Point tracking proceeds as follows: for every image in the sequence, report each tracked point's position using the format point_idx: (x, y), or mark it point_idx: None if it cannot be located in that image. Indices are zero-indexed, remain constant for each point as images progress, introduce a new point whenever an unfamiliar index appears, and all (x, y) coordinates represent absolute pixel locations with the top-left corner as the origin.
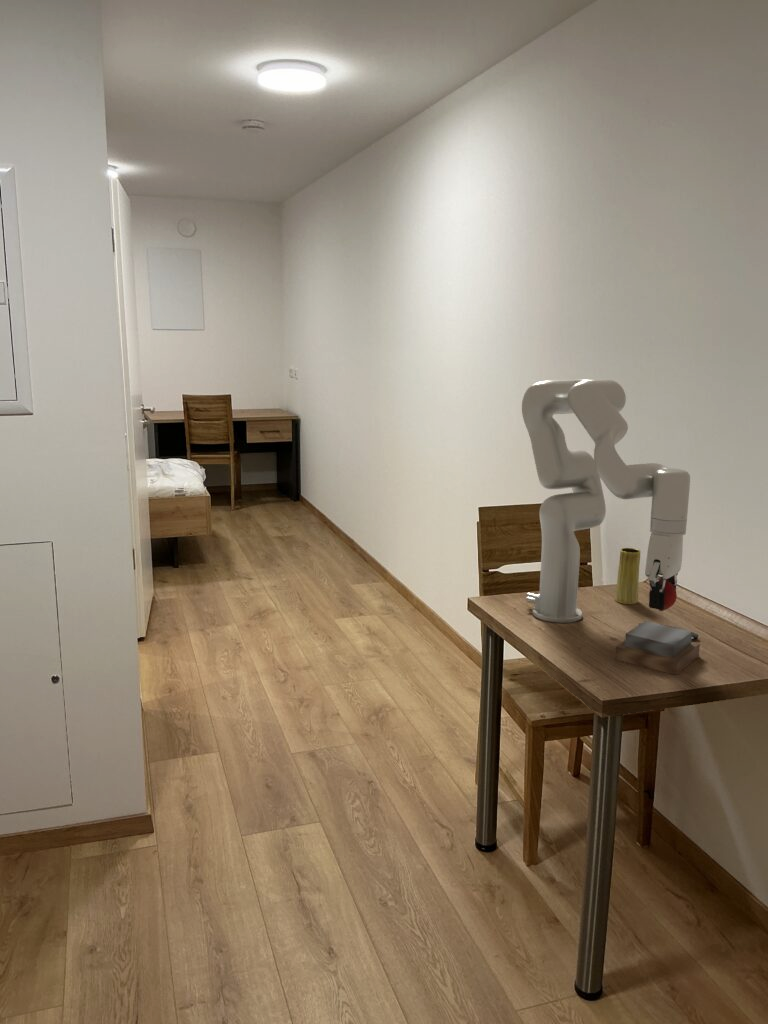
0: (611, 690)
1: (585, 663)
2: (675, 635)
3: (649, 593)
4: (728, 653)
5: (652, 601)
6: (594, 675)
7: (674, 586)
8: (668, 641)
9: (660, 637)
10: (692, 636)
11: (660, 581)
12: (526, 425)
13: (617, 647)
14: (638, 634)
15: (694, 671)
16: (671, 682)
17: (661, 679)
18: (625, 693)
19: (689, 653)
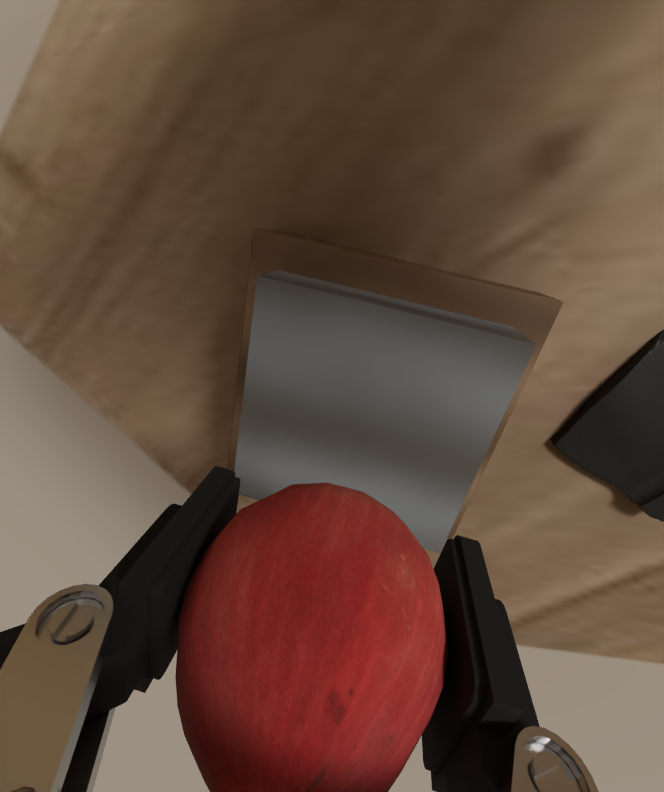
0: (15, 282)
1: (164, 115)
2: None
3: (261, 522)
4: (513, 581)
5: (158, 523)
6: (79, 192)
7: (433, 773)
8: (261, 470)
9: (292, 439)
10: (646, 497)
11: (225, 779)
12: None
13: (253, 238)
14: (279, 341)
15: None
16: (185, 437)
17: (189, 411)
18: (27, 326)
19: None
